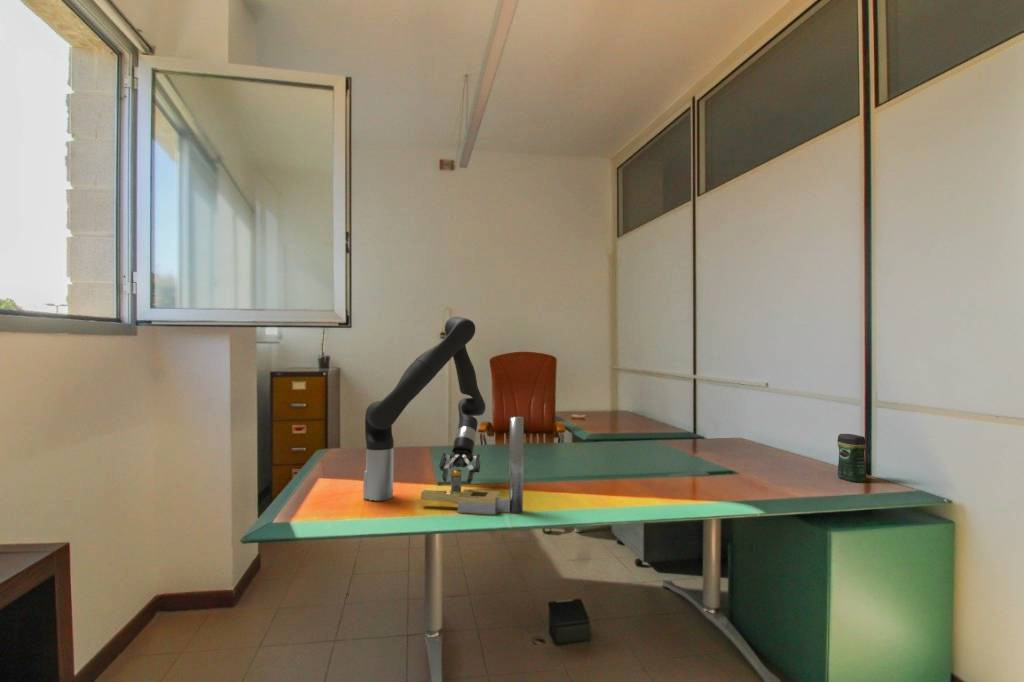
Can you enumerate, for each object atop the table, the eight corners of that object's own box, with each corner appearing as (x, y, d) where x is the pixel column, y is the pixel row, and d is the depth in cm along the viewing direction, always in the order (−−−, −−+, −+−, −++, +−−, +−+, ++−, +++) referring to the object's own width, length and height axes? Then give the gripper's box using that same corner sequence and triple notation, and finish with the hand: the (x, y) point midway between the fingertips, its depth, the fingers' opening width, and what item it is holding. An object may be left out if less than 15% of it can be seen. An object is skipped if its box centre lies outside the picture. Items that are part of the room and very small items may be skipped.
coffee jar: (870, 482, 203) (870, 435, 203) (854, 483, 201) (854, 436, 201) (849, 476, 212) (849, 432, 213) (833, 477, 210) (833, 432, 211)
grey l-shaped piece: (418, 510, 162) (419, 416, 162) (426, 502, 171) (427, 413, 171) (520, 516, 157) (521, 419, 158) (524, 507, 166) (525, 416, 167)
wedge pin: (449, 501, 172) (449, 471, 173) (452, 498, 176) (452, 469, 176) (459, 501, 172) (460, 472, 172) (462, 498, 175) (462, 469, 176)
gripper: (443, 435, 185) (434, 474, 173) (482, 436, 183) (475, 476, 171) (447, 447, 190) (438, 486, 178) (485, 448, 188) (478, 487, 176)
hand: (456, 481), depth 175 cm, fingers open, 8 cm apart
